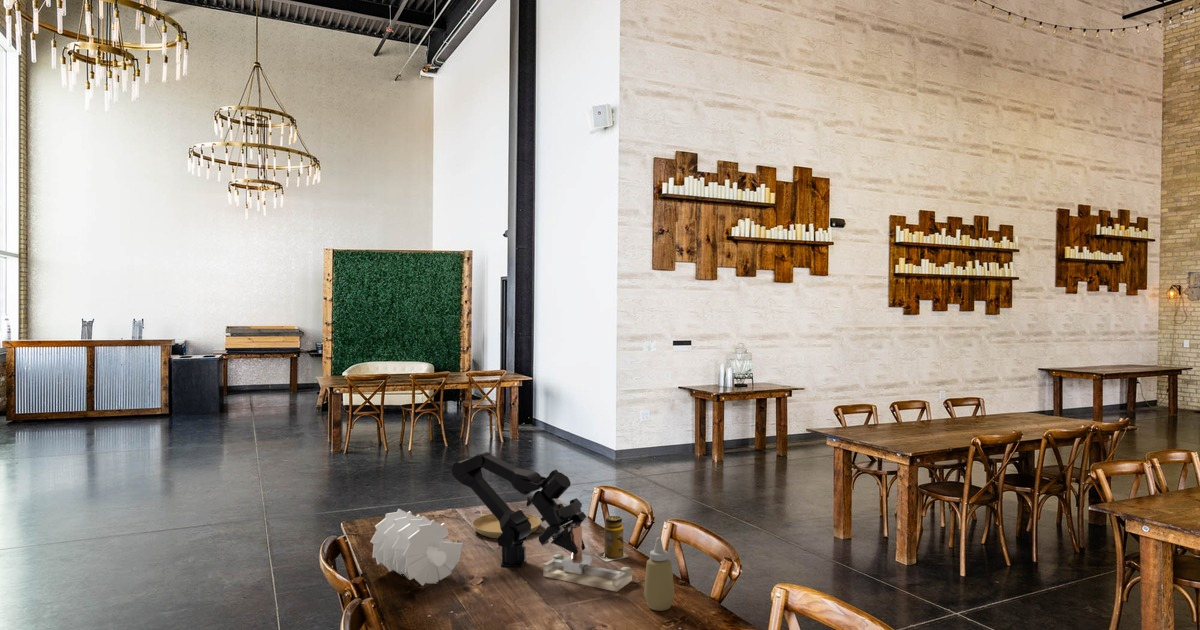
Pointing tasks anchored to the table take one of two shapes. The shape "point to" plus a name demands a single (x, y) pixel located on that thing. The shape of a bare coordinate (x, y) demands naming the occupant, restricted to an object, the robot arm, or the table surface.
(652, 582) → the squeeze bottle
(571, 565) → the carriage
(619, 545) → the condiment
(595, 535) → the table surface
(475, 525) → the plant saucer
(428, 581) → the spiral staircase
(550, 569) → the rail
